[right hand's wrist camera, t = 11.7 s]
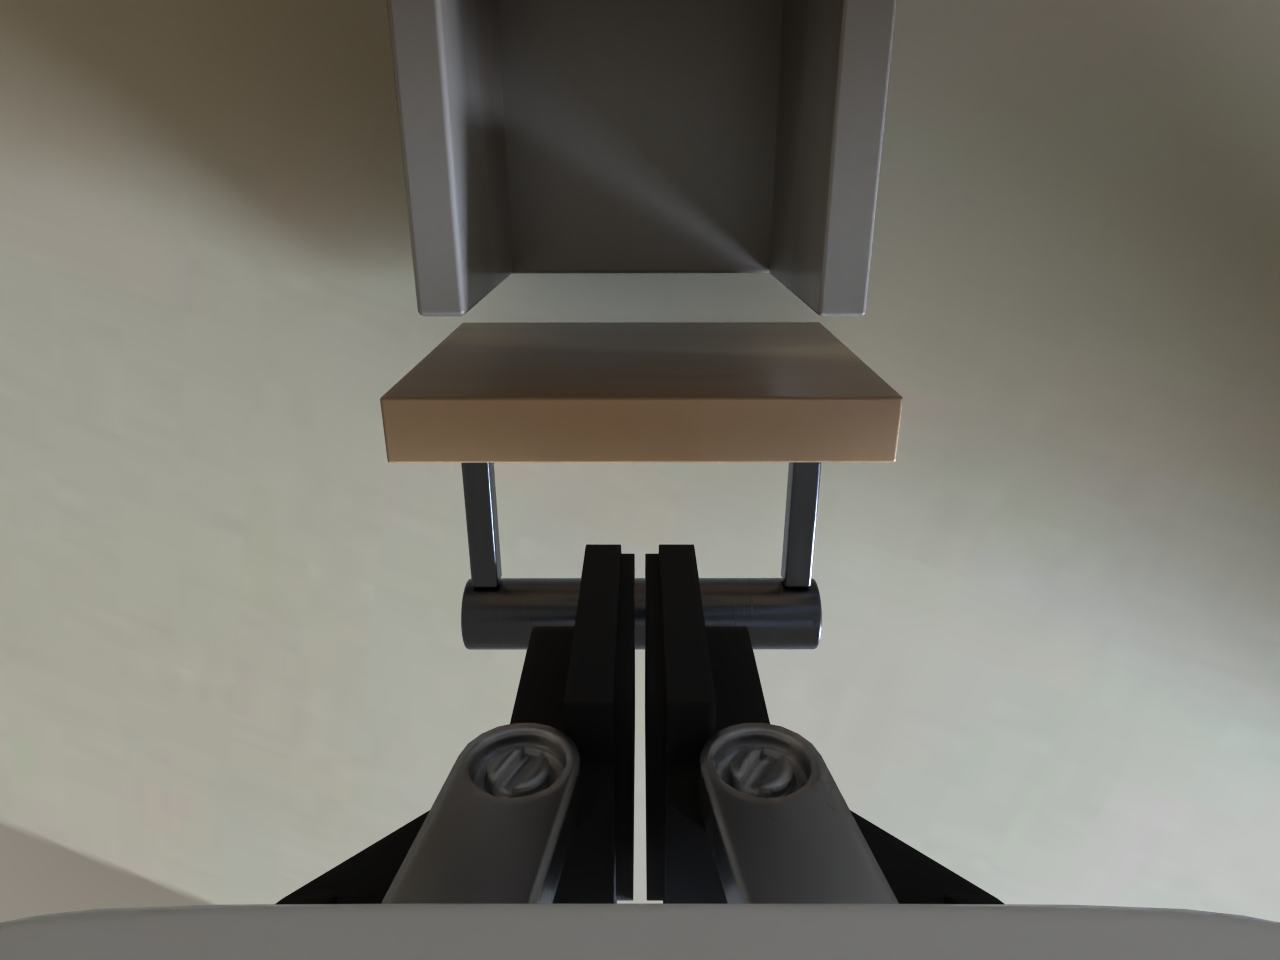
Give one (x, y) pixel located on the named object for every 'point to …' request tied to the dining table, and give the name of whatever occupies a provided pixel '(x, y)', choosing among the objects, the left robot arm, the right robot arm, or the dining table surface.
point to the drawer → (641, 258)
